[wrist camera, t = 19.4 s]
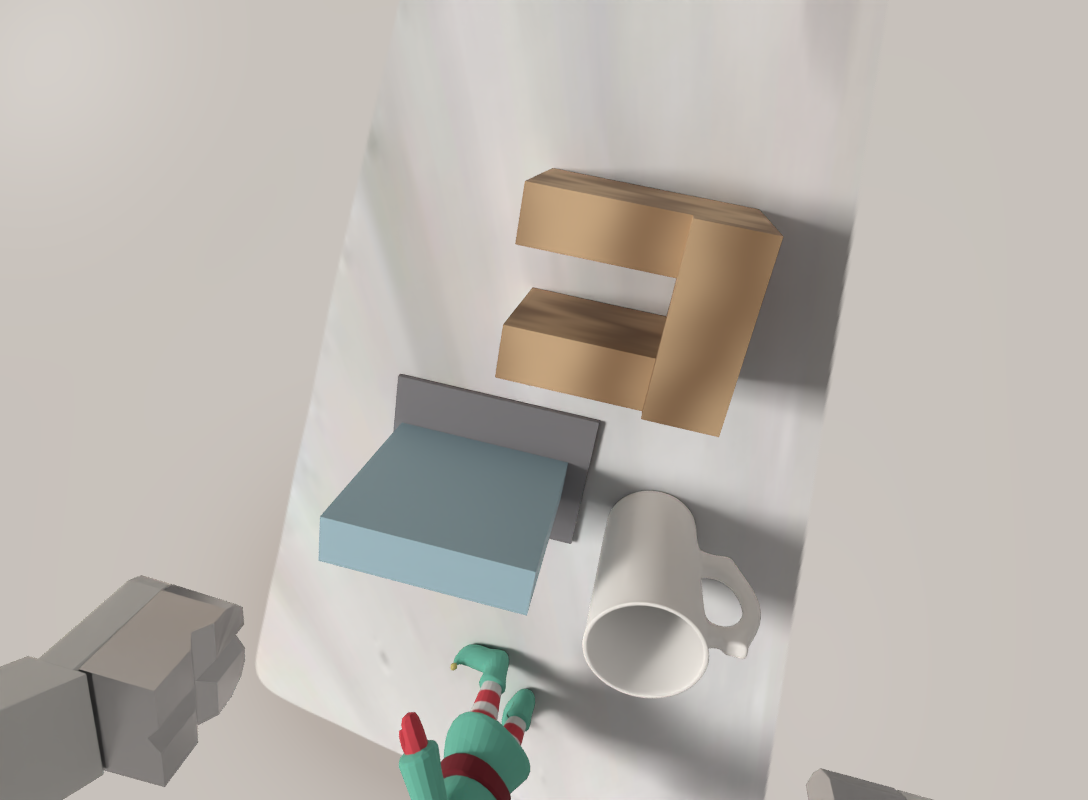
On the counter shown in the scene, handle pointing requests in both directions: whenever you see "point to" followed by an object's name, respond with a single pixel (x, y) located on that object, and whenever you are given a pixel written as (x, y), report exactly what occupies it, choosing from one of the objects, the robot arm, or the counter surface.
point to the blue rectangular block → (447, 517)
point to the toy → (472, 740)
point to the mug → (659, 601)
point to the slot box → (630, 335)
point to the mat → (506, 432)
